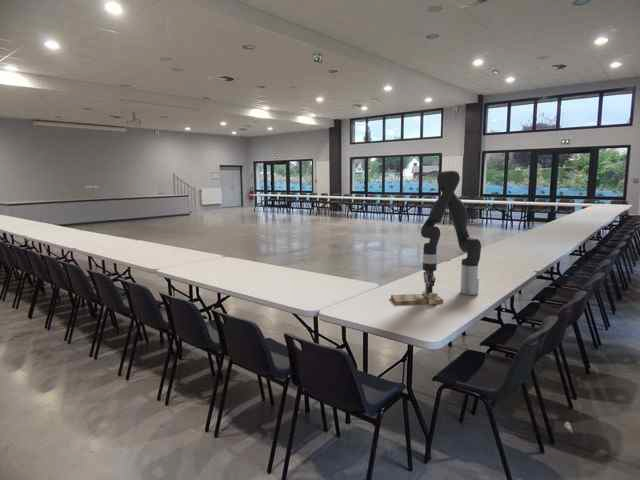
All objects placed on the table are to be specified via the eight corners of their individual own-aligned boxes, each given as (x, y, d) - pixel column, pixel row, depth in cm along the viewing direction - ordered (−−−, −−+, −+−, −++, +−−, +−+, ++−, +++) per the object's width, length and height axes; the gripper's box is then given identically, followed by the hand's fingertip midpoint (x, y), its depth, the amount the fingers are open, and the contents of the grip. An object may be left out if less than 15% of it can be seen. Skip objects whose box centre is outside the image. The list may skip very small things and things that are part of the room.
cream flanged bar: (428, 296, 234) (428, 280, 233) (437, 304, 219) (437, 287, 217) (421, 296, 234) (421, 280, 232) (429, 304, 219) (430, 287, 217)
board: (435, 296, 233) (435, 293, 233) (442, 303, 222) (443, 299, 221) (390, 298, 232) (390, 294, 232) (396, 304, 220) (396, 301, 220)
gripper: (440, 264, 217) (439, 295, 220) (432, 258, 231) (431, 288, 234) (427, 264, 217) (426, 295, 219) (419, 259, 230) (418, 288, 233)
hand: (428, 291), depth 226 cm, fingers closed on cream flanged bar, 3 cm apart
